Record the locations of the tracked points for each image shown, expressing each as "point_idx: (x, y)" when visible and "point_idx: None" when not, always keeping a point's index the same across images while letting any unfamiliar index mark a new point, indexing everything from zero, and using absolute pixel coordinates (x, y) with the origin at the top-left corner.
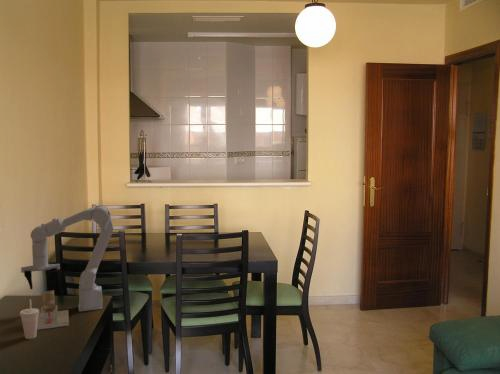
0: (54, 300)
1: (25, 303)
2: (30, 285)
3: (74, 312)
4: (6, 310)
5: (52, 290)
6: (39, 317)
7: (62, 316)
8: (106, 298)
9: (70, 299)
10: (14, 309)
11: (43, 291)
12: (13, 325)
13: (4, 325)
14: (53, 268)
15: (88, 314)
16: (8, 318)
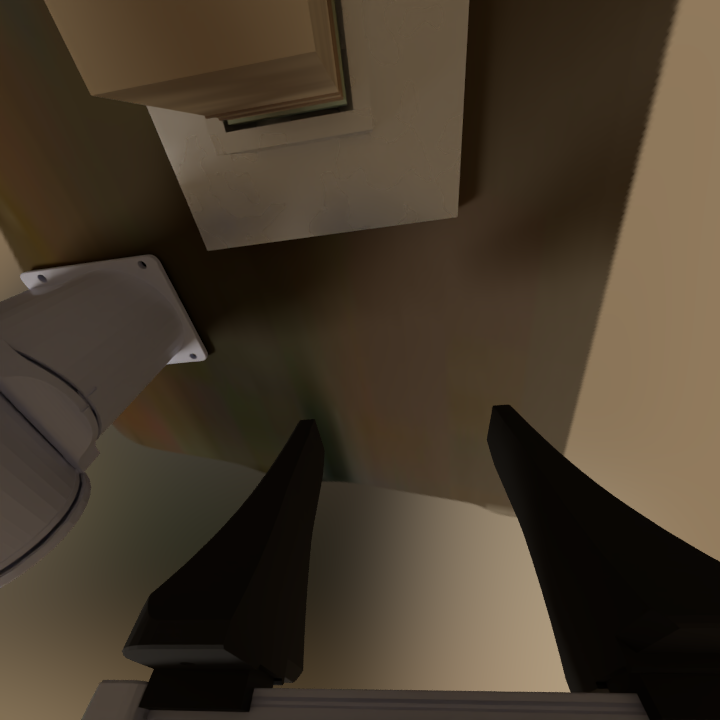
0: (200, 112)
1: (478, 439)
2: (530, 433)
3: (186, 254)
4: (573, 381)
5: (114, 75)
6: (388, 114)
7: None
8: None
9: (286, 440)
10: (533, 384)
11: (303, 39)
12: (592, 55)
13: (658, 82)
14: (207, 715)
15: (58, 182)
16: (591, 251)
